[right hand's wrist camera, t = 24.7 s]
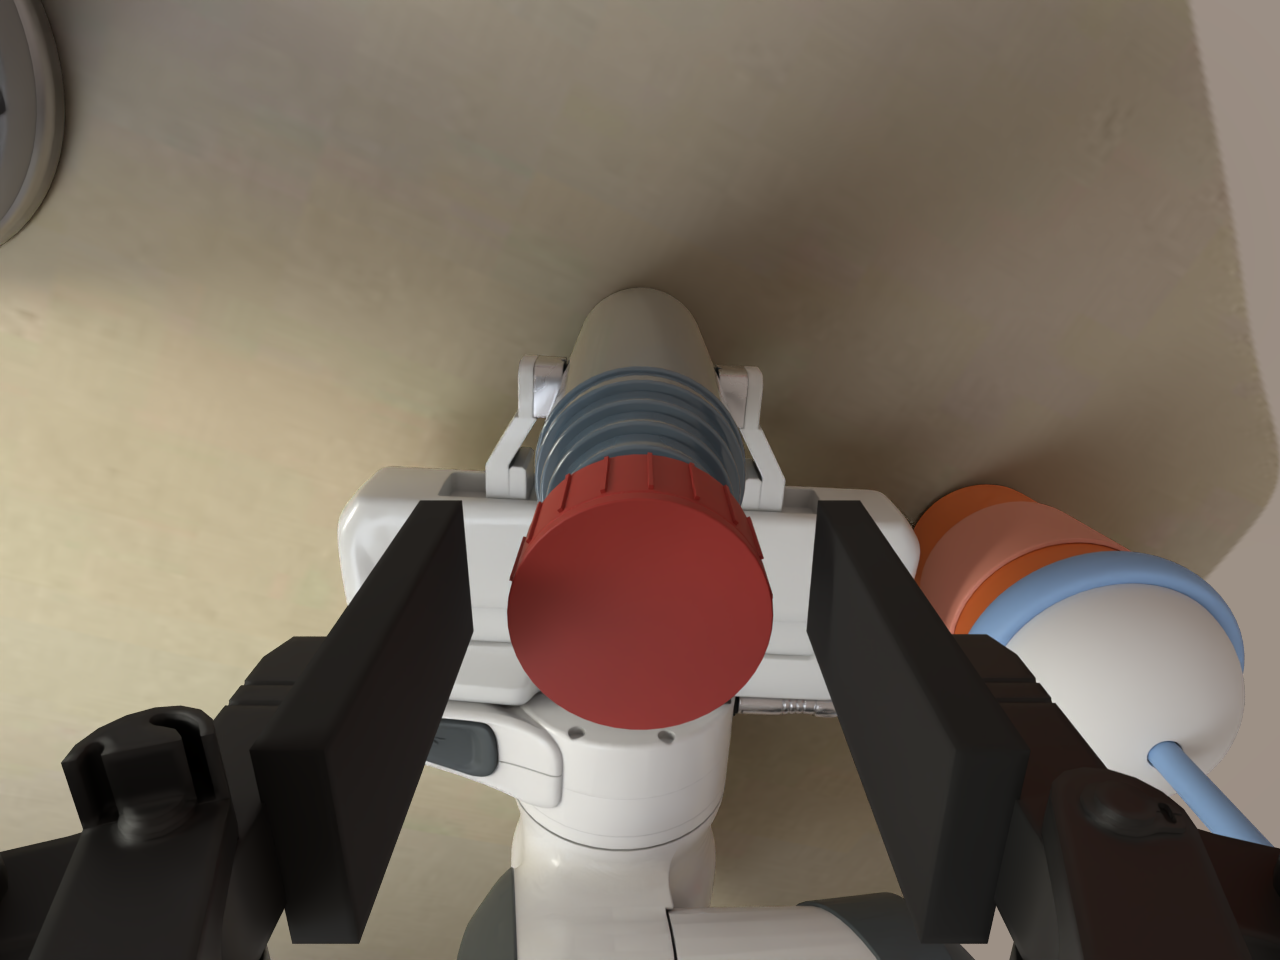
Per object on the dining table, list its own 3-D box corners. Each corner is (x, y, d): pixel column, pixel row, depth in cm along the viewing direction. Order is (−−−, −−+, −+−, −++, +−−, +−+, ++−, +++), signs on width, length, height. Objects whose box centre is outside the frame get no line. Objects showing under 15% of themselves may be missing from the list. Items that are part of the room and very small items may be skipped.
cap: (520, 654, 15) (502, 724, 13) (525, 440, 14) (506, 485, 12) (741, 669, 15) (756, 741, 13) (772, 459, 14) (794, 506, 12)
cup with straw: (1116, 544, 35) (1550, 877, 18) (954, 666, 38) (1208, 1059, 21) (996, 408, 33) (1367, 647, 16) (832, 546, 35) (1006, 880, 19)
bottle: (552, 333, 32) (426, 558, 13) (658, 261, 31) (686, 392, 12) (623, 433, 34) (601, 764, 15) (726, 368, 33) (846, 632, 14)
